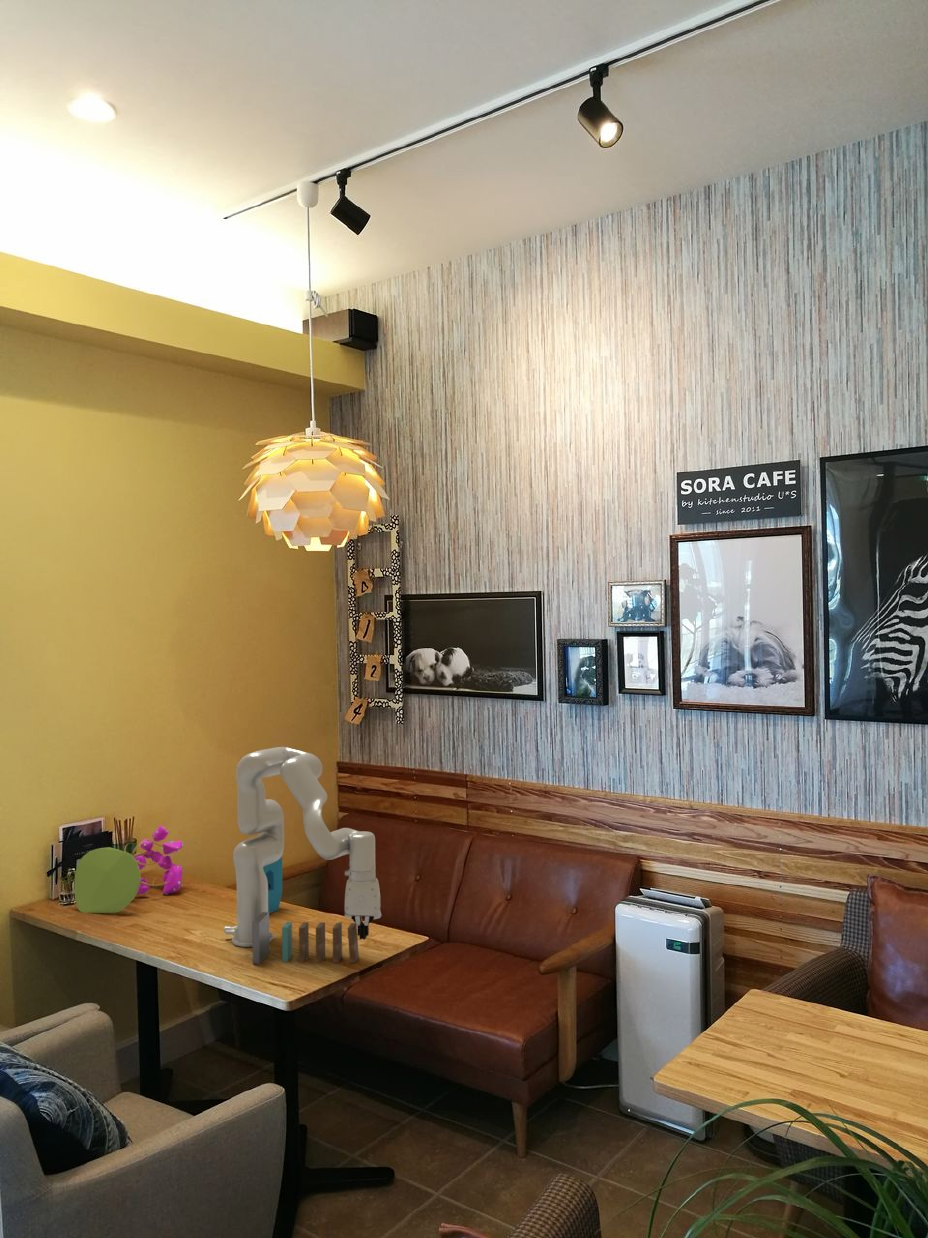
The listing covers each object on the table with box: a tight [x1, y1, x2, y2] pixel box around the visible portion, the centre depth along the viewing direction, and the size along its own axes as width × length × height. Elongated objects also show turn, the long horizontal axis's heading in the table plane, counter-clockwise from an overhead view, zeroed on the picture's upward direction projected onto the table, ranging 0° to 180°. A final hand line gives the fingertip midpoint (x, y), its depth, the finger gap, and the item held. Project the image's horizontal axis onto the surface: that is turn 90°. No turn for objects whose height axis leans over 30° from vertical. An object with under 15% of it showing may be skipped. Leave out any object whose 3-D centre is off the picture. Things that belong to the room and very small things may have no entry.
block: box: [263, 855, 283, 914], centre depth 326 cm, size 12×5×20 cm, turn 140°
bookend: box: [252, 912, 271, 965], centre depth 280 cm, size 2×10×12 cm, turn 175°
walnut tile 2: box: [332, 922, 343, 964], centre depth 278 cm, size 2×5×10 cm, turn 175°
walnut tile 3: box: [315, 921, 326, 963], centre depth 279 cm, size 2×5×10 cm, turn 175°
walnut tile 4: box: [298, 921, 310, 963], centre depth 279 cm, size 2×5×10 cm, turn 175°
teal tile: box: [281, 921, 293, 963], centre depth 280 cm, size 2×5×10 cm, turn 175°
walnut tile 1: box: [347, 922, 360, 964], centre depth 278 cm, size 2×5×10 cm, turn 175°
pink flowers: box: [73, 825, 184, 914], centre depth 344 cm, size 30×28×35 cm
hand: (363, 938), depth 278 cm, fingers closed
